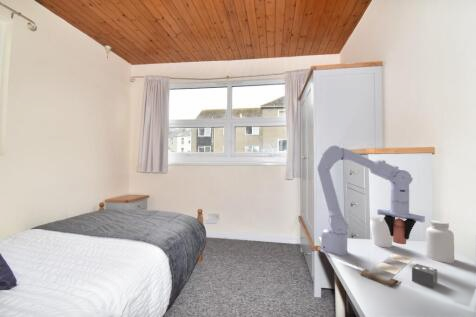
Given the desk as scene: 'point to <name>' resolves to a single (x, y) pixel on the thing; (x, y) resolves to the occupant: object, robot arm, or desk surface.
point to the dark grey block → (424, 275)
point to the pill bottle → (440, 242)
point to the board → (387, 270)
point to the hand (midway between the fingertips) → (399, 237)
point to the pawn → (399, 231)
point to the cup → (380, 232)
